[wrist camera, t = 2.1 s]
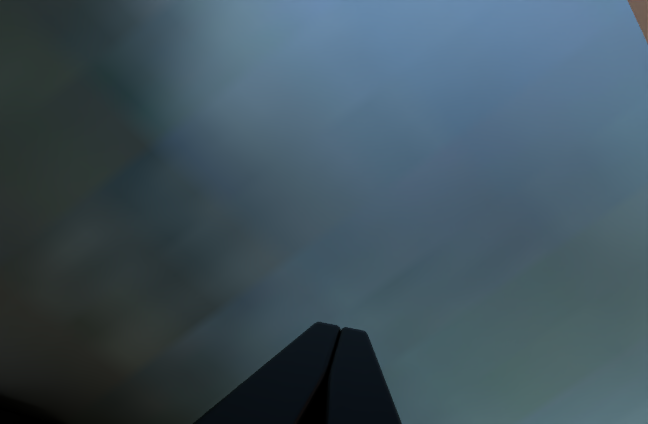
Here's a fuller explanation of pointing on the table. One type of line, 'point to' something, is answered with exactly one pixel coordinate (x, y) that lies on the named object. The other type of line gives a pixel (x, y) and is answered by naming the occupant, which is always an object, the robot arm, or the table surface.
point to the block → (641, 14)
